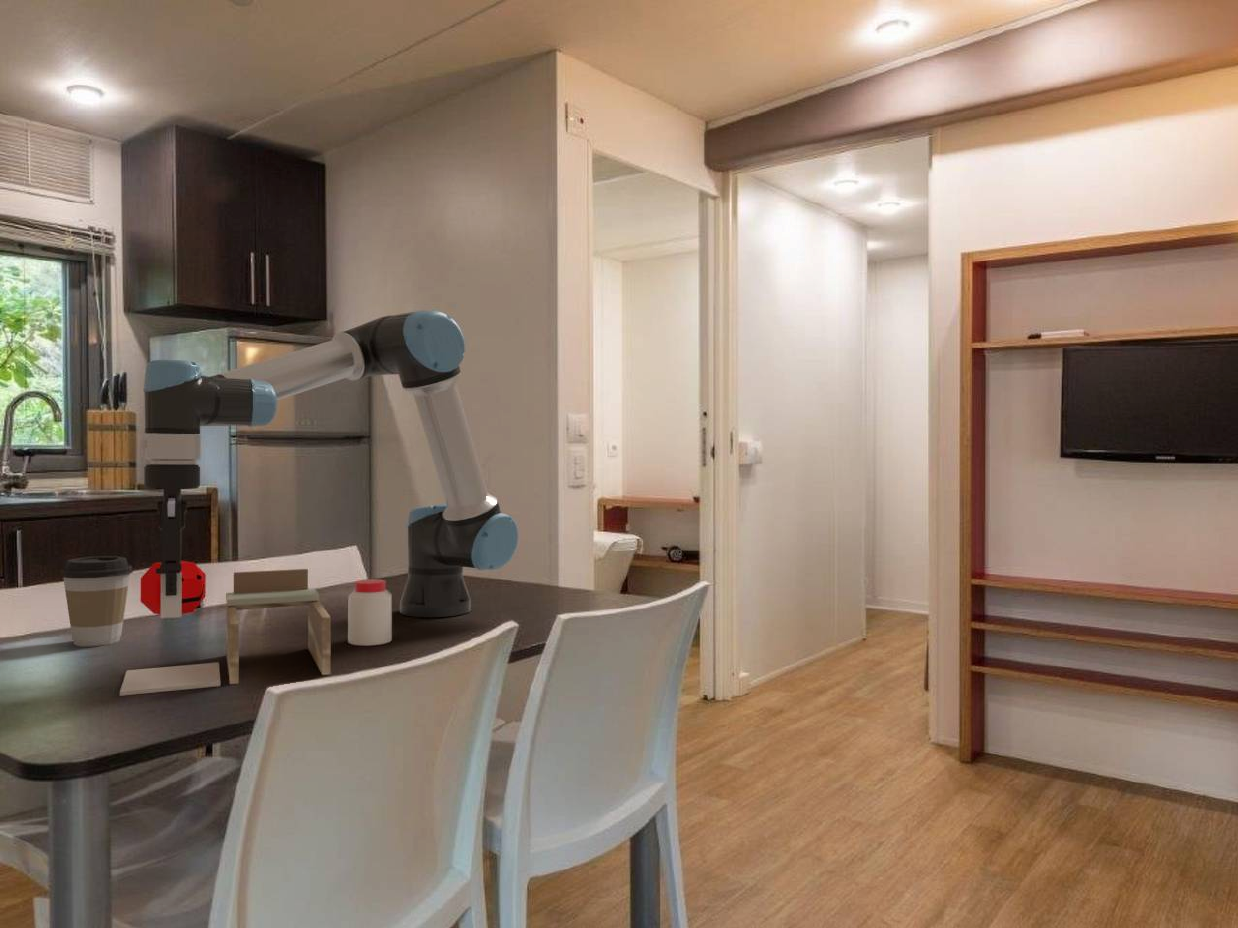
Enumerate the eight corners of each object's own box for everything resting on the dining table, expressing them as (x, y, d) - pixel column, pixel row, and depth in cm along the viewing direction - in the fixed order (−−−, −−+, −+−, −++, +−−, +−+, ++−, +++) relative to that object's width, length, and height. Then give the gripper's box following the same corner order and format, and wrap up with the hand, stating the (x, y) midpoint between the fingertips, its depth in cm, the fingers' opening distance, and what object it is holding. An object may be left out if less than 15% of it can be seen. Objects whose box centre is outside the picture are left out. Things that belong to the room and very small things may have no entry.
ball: (165, 619, 127) (165, 567, 127) (131, 614, 131) (132, 563, 131) (214, 611, 134) (214, 561, 134) (181, 606, 138) (181, 558, 138)
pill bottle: (400, 638, 164) (400, 579, 164) (375, 647, 156) (375, 585, 156) (364, 635, 166) (365, 577, 166) (339, 643, 159) (339, 583, 159)
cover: (313, 593, 157) (313, 568, 157) (319, 600, 150) (319, 574, 150) (226, 598, 151) (226, 572, 151) (227, 606, 144) (227, 578, 144)
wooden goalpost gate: (315, 647, 155) (315, 597, 155) (330, 674, 137) (330, 616, 137) (226, 655, 149) (226, 602, 149) (229, 684, 131) (230, 624, 131)
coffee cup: (147, 639, 161) (147, 557, 161) (87, 652, 151) (87, 564, 150) (106, 633, 166) (106, 554, 165) (45, 645, 155) (45, 560, 155)
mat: (218, 665, 142) (218, 662, 142) (220, 685, 130) (220, 681, 130) (126, 674, 136) (126, 670, 136) (119, 695, 124) (119, 691, 124)
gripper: (148, 461, 141) (147, 602, 141) (139, 463, 121) (139, 626, 122) (200, 461, 144) (199, 599, 144) (200, 464, 124) (199, 622, 125)
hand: (172, 611), depth 133 cm, fingers closed on ball, 9 cm apart
